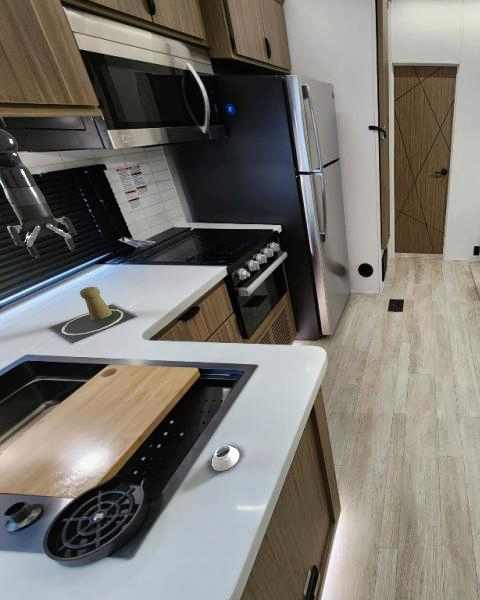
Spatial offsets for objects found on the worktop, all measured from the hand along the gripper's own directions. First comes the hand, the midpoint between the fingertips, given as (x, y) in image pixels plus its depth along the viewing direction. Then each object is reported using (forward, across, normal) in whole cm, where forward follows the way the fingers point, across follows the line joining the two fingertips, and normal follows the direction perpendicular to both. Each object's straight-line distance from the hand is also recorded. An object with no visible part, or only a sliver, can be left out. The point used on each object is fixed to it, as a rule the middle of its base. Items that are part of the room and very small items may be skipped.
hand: (55, 253), depth 107 cm
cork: (+24, -3, +2) cm, 25 cm away
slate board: (+25, 0, +5) cm, 25 cm away
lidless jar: (+26, +10, +94) cm, 98 cm away
